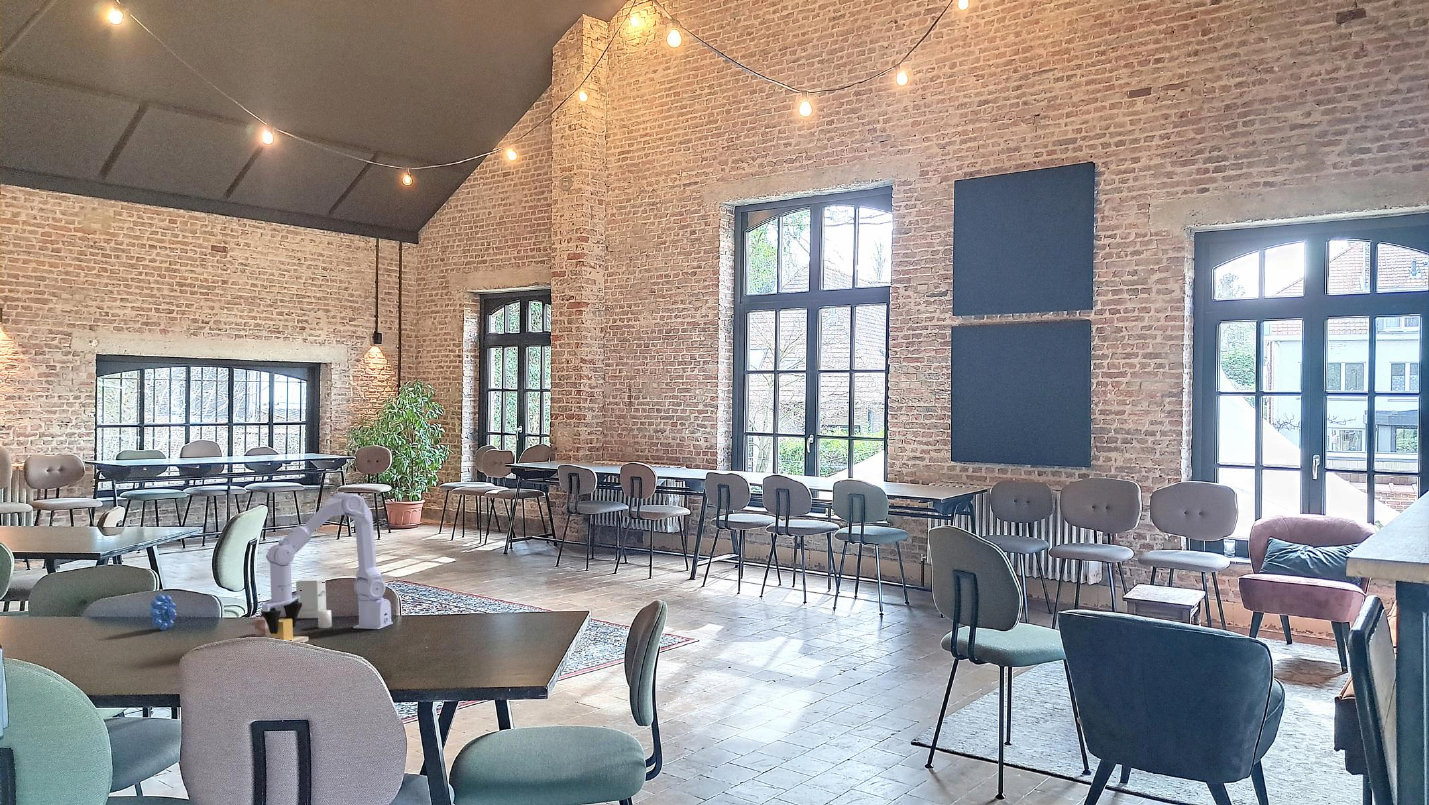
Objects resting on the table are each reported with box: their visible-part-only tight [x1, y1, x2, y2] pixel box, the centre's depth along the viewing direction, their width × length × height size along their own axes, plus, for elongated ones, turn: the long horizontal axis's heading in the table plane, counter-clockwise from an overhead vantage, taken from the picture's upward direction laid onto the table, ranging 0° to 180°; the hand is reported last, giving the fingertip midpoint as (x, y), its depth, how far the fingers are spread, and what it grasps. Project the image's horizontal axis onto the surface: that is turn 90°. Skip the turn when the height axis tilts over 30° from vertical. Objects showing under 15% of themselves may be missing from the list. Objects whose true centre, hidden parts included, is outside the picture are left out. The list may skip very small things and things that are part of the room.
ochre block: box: [271, 618, 294, 640], centre depth 304 cm, size 4×4×6 cm
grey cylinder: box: [317, 609, 333, 629], centre depth 326 cm, size 4×4×5 cm
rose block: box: [253, 616, 271, 637], centre depth 318 cm, size 4×4×5 cm
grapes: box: [148, 593, 178, 631], centre depth 327 cm, size 12×7×12 cm, turn 173°
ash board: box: [291, 635, 309, 644], centre depth 304 cm, size 10×10×1 cm
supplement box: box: [295, 576, 327, 619], centre depth 342 cm, size 7×7×13 cm
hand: (282, 630), depth 304 cm, fingers open, 7 cm apart
